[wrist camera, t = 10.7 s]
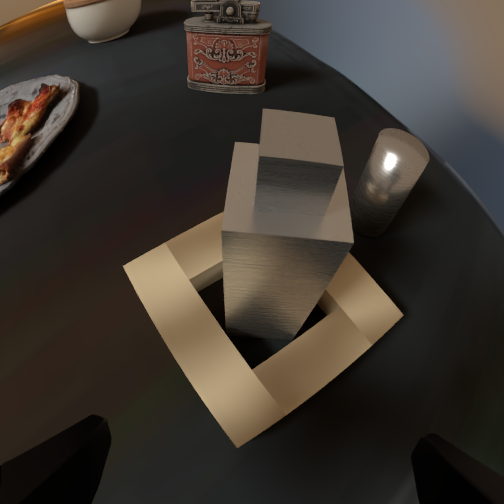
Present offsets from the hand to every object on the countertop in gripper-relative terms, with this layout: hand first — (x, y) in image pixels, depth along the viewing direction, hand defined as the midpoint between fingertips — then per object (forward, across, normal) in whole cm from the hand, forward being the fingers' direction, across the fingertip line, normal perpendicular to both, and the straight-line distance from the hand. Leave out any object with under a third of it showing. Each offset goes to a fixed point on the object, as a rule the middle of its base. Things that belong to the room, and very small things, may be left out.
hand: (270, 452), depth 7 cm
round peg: (+16, -7, -5) cm, 18 cm away
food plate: (+20, +31, -9) cm, 38 cm away
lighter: (+27, +5, -16) cm, 32 cm away
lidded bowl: (+40, +28, -30) cm, 57 cm away
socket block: (+11, 0, 0) cm, 11 cm away
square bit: (+11, 0, 0) cm, 11 cm away
